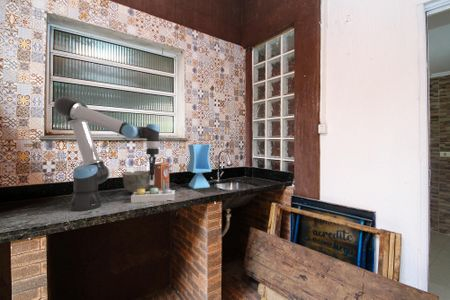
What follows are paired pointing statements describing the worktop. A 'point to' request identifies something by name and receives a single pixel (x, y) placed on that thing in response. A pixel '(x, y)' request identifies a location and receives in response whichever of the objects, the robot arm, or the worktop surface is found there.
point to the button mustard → (141, 191)
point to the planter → (199, 165)
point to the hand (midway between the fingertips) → (151, 184)
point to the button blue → (166, 191)
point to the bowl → (136, 180)
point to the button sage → (153, 190)
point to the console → (152, 197)
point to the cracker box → (162, 176)
